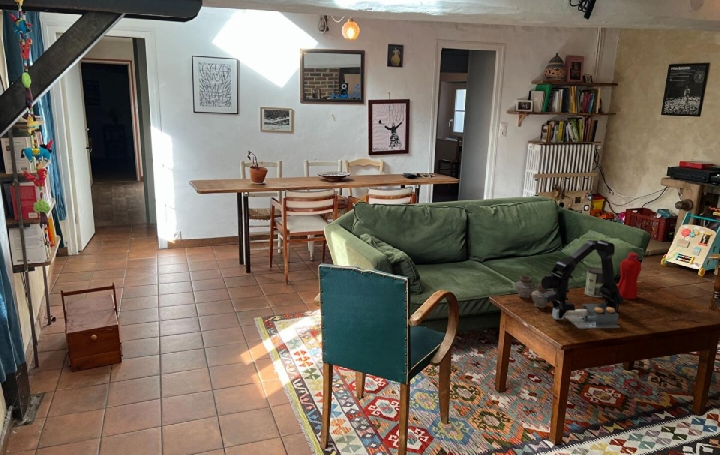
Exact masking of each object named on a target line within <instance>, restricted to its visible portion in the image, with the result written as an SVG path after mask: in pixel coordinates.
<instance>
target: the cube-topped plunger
mask: <svg viewBox="0 0 720 455" xmlns="http://www.w3.org/2000/svg"><path fill="white" fill-rule="evenodd" d="M551 311H552V312H551V313H552V314H551V317H552V318H553V319H555V320H565V317H564V316H576V317H587V316H588V312H589V310H588V309H582V308H581V309H577V308H576V309H575V310H567V311H566V313H565V314H564V315H563V317H562V318H560V319H559V309H558V308H552V310H551Z"/></svg>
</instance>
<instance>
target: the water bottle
mask: <svg viewBox="0 0 720 455" xmlns="http://www.w3.org/2000/svg"><path fill="white" fill-rule="evenodd" d="M619 267H620V272H619V274H620V279H619V281H618V284H617V287H618V288H619V292H620V295H621V296H622V298H623V299H625V300H633V299H636V298H637V296H638V278H639V276H640V273H641V271H642V263H641V262H640V260H638V254H637V253H636V252H628V254H627V258H624V259H623V260H622V261H621V262H620V266H619Z"/></svg>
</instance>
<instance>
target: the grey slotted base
mask: <svg viewBox="0 0 720 455" xmlns="http://www.w3.org/2000/svg"><path fill="white" fill-rule="evenodd" d="M607 307H608V306H606V305H605V304H604V303H583V304H582V308H581V309H588V310H589V312H588V316H587V317H576V316H564V319H566V320H567V321H569V322H570V323H571V324H572V325H573V326H574V325H575V326H574V327H575V328H577V329H578V330H585V329H586V330H587V329H588V330H589V329H618V328H620V327H621V326H620V325H618V322H619V321H618V320H619V316H620V315H619V314H618V313H616V312H613V313H608V311H606V308H607ZM595 308H602V309H603V312H602V313H598V314H597V313H596V311H594V310H595Z"/></svg>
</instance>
